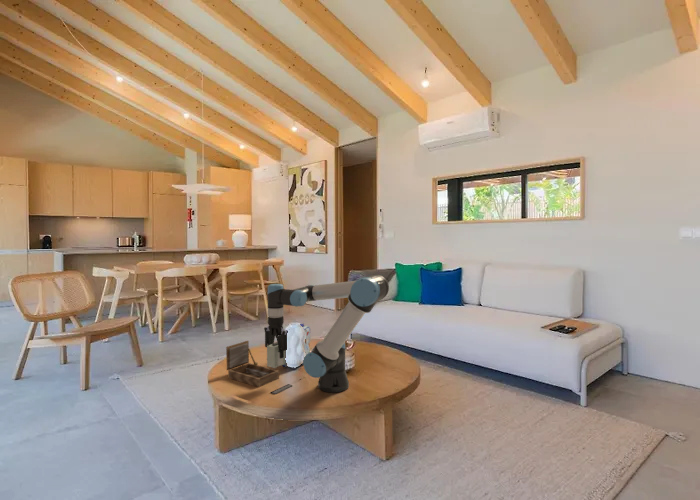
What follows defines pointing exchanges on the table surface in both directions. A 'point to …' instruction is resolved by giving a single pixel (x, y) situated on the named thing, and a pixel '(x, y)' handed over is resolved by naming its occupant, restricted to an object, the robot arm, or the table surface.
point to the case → (247, 366)
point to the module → (273, 355)
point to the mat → (281, 389)
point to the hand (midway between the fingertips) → (276, 363)
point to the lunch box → (306, 343)
